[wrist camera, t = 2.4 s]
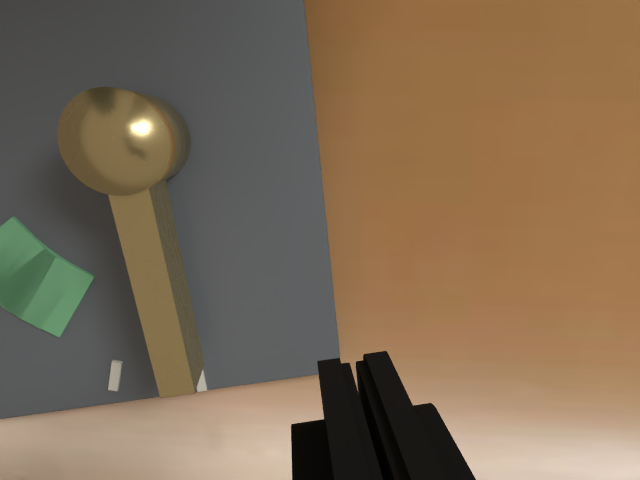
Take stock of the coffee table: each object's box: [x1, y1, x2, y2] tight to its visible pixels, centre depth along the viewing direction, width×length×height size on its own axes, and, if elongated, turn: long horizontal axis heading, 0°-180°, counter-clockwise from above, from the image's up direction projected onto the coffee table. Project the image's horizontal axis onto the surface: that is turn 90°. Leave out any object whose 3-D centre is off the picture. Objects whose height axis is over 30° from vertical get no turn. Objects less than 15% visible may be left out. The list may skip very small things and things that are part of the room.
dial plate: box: [0, 0, 340, 419], centre depth 20 cm, size 24×20×2 cm
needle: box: [57, 87, 205, 398], centre depth 18 cm, size 14×4×4 cm, turn 6°
